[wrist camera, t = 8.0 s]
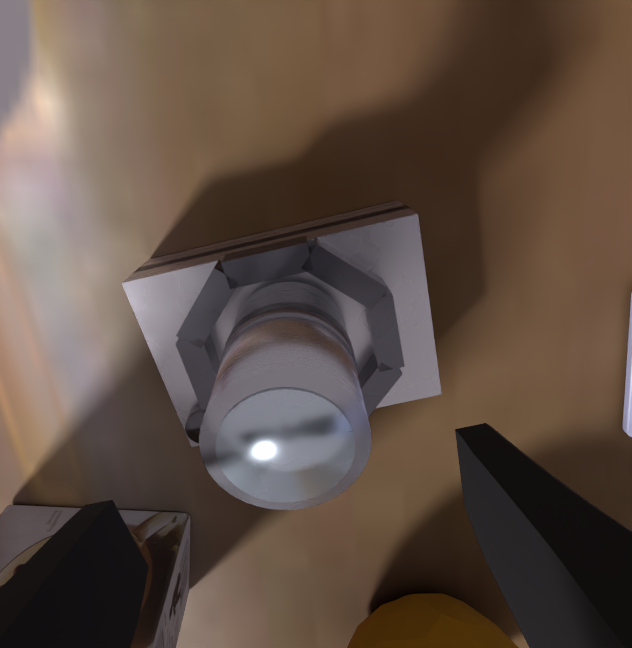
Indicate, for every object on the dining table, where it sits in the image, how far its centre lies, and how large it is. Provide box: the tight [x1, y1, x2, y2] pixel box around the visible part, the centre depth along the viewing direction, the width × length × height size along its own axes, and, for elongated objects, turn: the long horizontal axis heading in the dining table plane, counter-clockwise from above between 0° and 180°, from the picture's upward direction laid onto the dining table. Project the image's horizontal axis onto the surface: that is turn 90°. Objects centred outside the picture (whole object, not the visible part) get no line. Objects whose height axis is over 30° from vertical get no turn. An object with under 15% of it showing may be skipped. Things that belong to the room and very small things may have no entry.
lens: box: [199, 282, 372, 510], centre depth 13 cm, size 4×4×6 cm
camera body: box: [122, 200, 441, 447], centre depth 17 cm, size 10×7×4 cm
